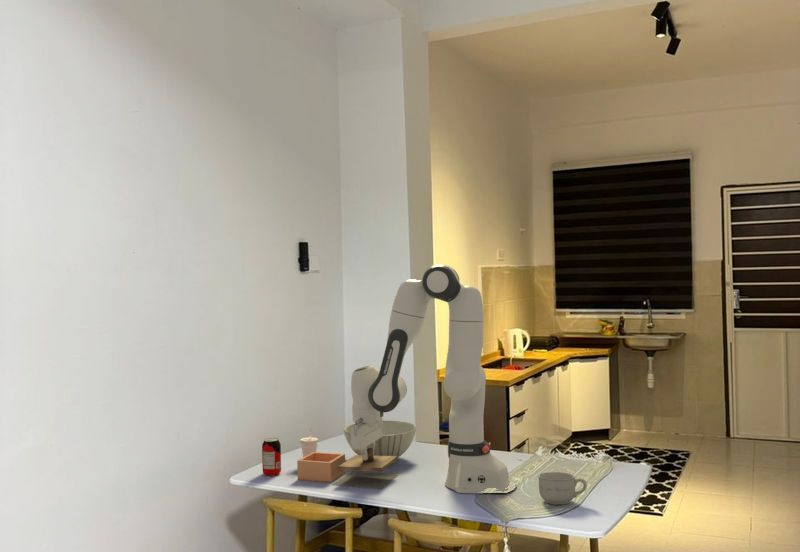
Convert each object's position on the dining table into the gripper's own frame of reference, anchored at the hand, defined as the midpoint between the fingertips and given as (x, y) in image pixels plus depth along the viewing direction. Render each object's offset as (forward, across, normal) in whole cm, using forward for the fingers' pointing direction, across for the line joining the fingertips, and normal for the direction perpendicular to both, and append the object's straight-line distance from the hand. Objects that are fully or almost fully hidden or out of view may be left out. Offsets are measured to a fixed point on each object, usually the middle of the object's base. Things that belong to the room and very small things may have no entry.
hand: (368, 457), depth 235 cm
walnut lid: (+2, 0, 0) cm, 2 cm away
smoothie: (+7, +13, +28) cm, 32 cm away
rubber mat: (+8, 0, +1) cm, 8 cm away
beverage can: (+7, 0, +36) cm, 37 cm away
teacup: (+10, -5, -63) cm, 64 cm away
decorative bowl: (+8, +27, +6) cm, 29 cm away
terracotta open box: (+7, 0, +17) cm, 19 cm away
